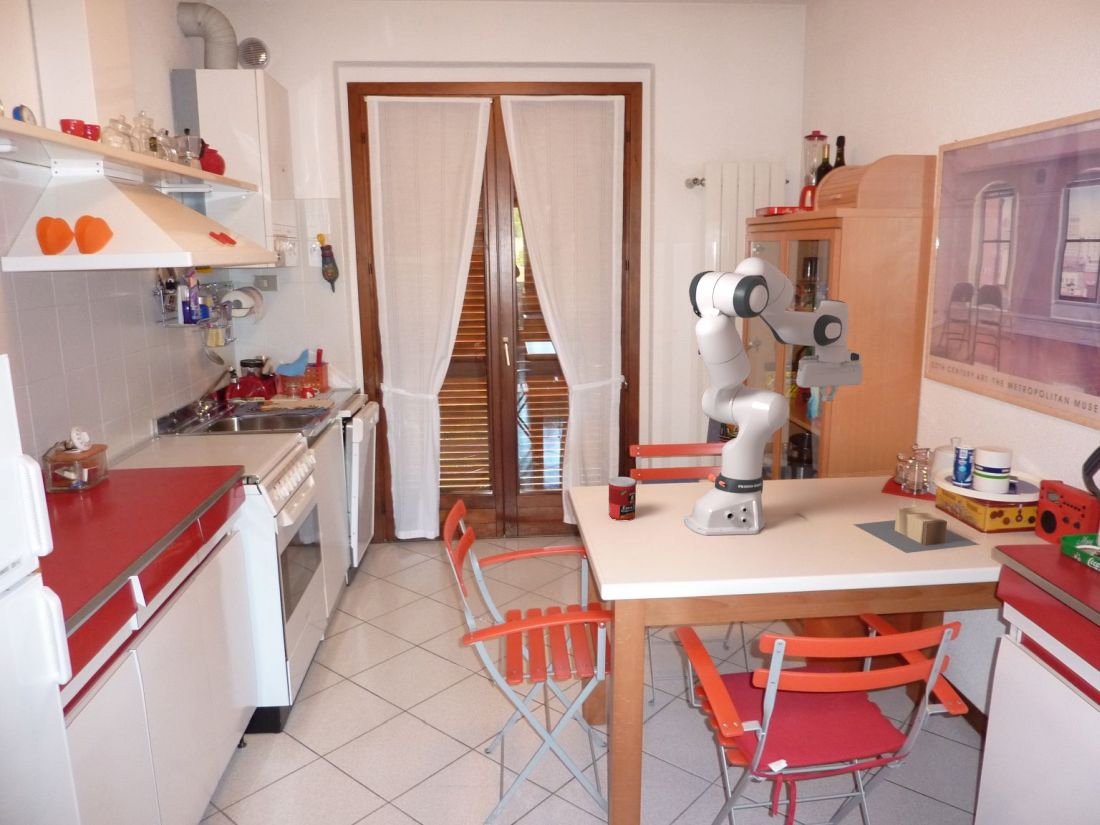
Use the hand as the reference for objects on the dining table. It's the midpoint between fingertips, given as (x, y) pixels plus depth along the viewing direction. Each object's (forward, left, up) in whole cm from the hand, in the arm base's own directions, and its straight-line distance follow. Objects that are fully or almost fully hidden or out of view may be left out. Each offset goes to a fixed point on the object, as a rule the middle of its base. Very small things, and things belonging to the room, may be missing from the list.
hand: (827, 400), depth 239 cm
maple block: (+6, -30, -28) cm, 41 cm away
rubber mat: (+6, -34, -31) cm, 46 cm away
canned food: (-64, +2, -31) cm, 71 cm away
